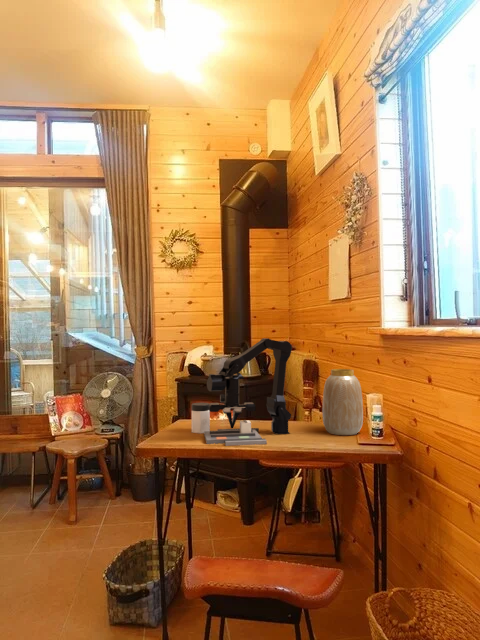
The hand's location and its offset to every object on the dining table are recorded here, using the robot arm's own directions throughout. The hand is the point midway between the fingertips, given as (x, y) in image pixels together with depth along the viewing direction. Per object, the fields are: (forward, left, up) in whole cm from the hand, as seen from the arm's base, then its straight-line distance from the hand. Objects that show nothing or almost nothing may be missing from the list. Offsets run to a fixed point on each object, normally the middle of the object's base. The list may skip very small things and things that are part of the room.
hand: (232, 428), depth 185 cm
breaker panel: (0, 0, -4) cm, 4 cm away
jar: (+12, -15, -4) cm, 20 cm away
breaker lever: (-6, 0, -3) cm, 6 cm away
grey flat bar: (-4, +9, -4) cm, 11 cm away
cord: (-4, -11, -4) cm, 12 cm away
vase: (-49, -4, -4) cm, 49 cm away
